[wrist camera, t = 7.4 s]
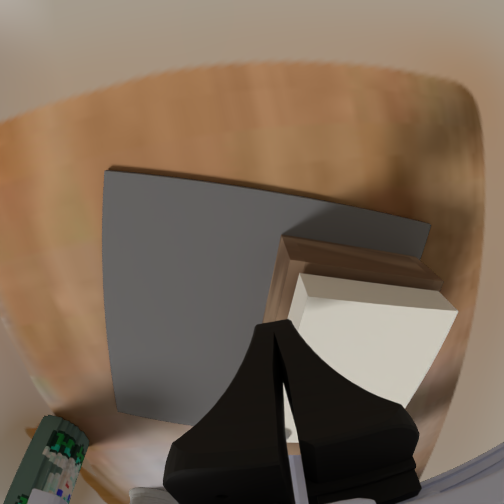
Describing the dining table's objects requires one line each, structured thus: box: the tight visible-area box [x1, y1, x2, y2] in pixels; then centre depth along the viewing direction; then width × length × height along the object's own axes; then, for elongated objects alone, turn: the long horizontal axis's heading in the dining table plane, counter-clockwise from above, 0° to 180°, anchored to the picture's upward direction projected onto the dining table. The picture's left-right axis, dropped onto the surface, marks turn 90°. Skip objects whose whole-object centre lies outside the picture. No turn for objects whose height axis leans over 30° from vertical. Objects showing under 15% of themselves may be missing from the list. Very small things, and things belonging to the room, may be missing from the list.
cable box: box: [262, 234, 444, 455], centre depth 21 cm, size 16×10×5 cm, turn 170°
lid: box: [283, 273, 458, 443], centre depth 17 cm, size 11×9×3 cm
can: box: [4, 415, 89, 504], centre depth 22 cm, size 6×6×15 cm
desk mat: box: [102, 170, 431, 426], centre depth 23 cm, size 22×22×1 cm
